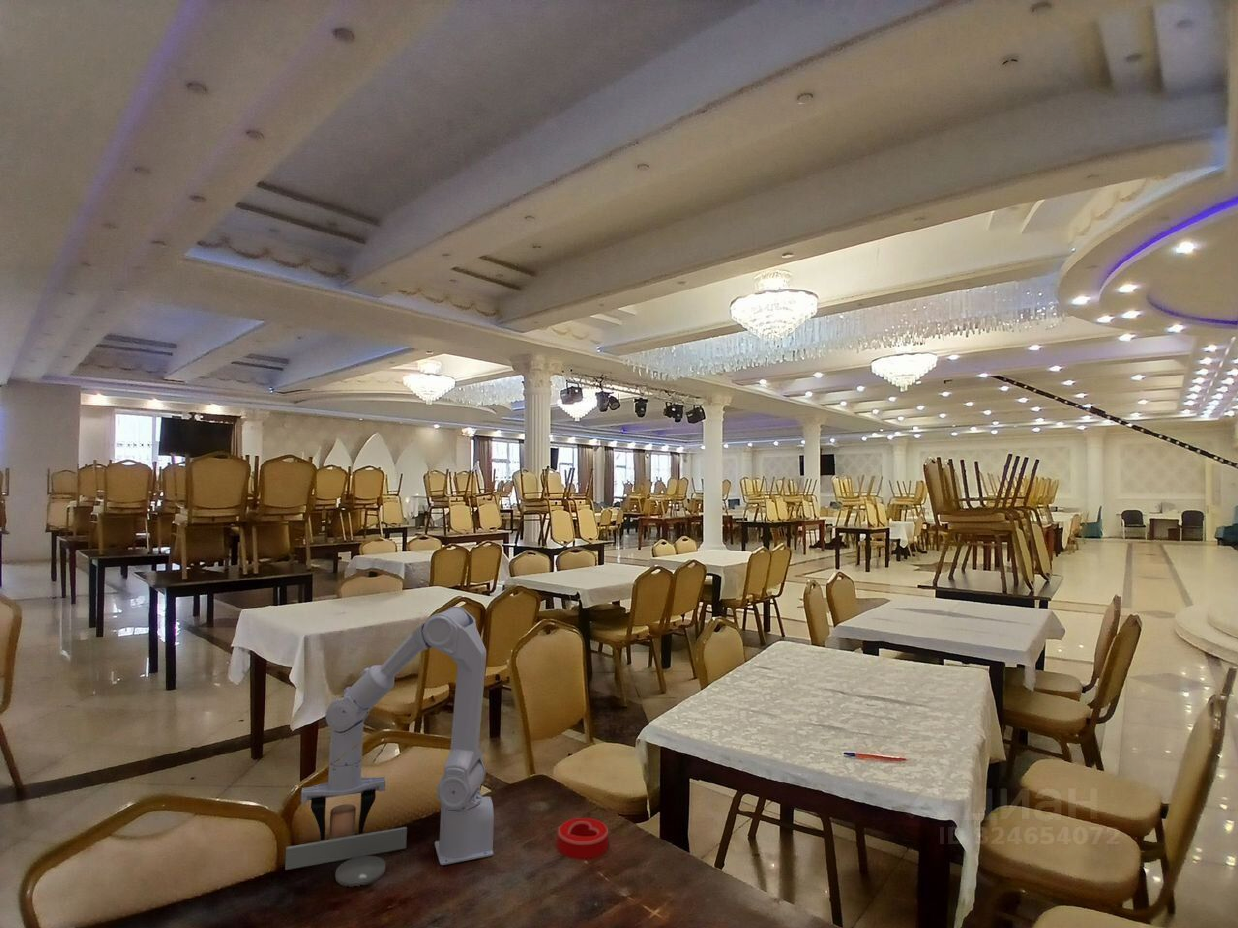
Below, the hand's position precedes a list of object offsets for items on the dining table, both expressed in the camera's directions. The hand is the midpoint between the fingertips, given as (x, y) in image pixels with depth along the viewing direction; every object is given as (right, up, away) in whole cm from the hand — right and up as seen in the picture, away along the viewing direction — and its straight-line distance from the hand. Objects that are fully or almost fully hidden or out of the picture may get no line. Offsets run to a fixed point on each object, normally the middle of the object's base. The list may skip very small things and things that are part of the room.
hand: (341, 834), depth 120 cm
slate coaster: (+8, -1, -10) cm, 12 cm away
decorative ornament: (+45, -3, +1) cm, 45 cm away
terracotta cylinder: (0, -1, 0) cm, 1 cm away
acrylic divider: (+3, -1, -5) cm, 6 cm away
